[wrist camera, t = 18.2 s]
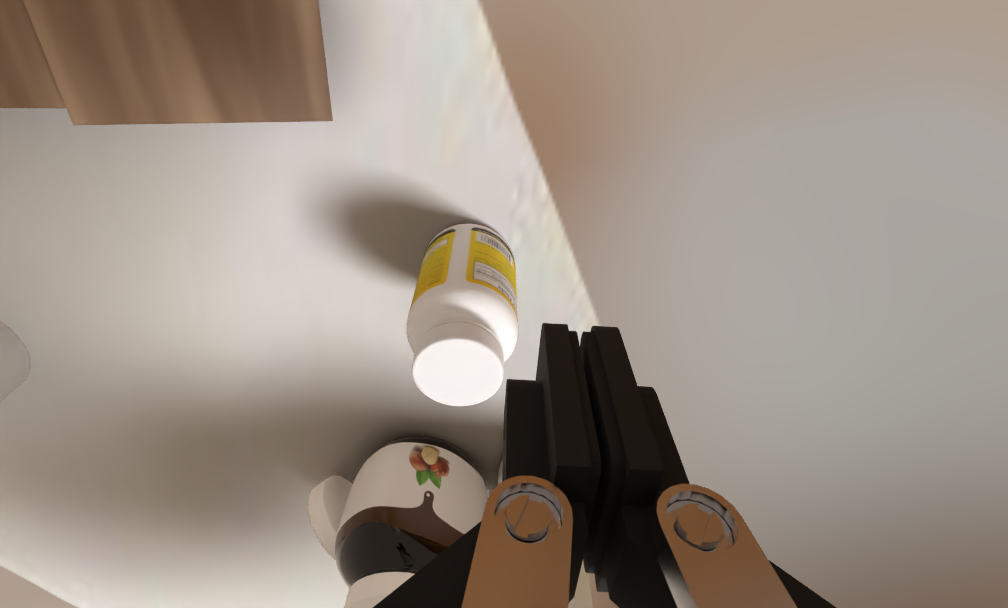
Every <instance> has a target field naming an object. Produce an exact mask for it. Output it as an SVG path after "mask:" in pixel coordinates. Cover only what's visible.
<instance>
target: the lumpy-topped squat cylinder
mask: <svg viewBox="0 0 1008 608" xmlns="http://www.w3.org/2000/svg"><path fill="white" fill-rule="evenodd" d="M29 367H30V356H29V352H28V350H27V348H26V346H25V345H24V343H23V342H22V340H21V339H20V338H19V337H18V336H17V335H16V334H15V333H14V332H13V331H12V330H11V329H10V328H9V327H7V326H6V325H5V324H3V323H2V322H1V321H0V401H1V400H2V399H3V398H4V397H6V396H7V395H8V394H9V393H10V392H12V391H13V390H14V389H15V388H16V387H17V386H19V385H20V384H21V383H22V382H23V381H24V380H25V378H26V377H27V375H28V372H29Z"/></svg>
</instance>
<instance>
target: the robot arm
mask: <svg viewBox="0 0 1008 608" xmlns="http://www.w3.org/2000/svg"><path fill="white" fill-rule="evenodd" d="M373 608H836V607H835V606H833V605H832V604H830V603H829V602H827V601H826V600H825V599H823V598H822V597H820V596H819V595H818V594H816V593H815V592H813V591H812V590H810V589H809V588H808V587H806V586H805V585H803V584H802V583H801V582H799V581H798V580H796V579H795V578H793V577H792V576H791V575H789V574H788V573H786V572H785V571H783V570H782V569H781V568H779V567H778V566H776V565H775V564H774V563H772V562H771V561H769V560H768V559H767V557H766V556H765V554H764V552H763V550H762V549H761V547H760V545H759V544H758V542H757V541H756V539H755V537H754V536H753V534H752V532H751V531H750V529H749V527H748V526H747V524H746V523H745V521H744V519H743V518H742V516H741V515H740V514H739V512H738V511H737V510H736V508H735V507H734V506H733V505H732V504H731V503H730V502H728V501H727V500H726V499H725V498H723V496H721V495H719V494H718V493H716V492H714V491H712V490H710V489H708V488H705V487H702V486H698V485H695V484H689V481H688V479H687V476H686V473H685V470H684V467H683V465H682V462H681V459H680V456H679V454H678V451H677V448H676V445H675V443H674V440H673V437H672V435H671V432H670V429H669V426H668V424H667V421H666V418H665V415H664V413H663V410H662V408H661V405H660V402H659V399H658V396H657V394H656V392H655V390H654V389H653V388H652V387H643V386H637V383H636V380H635V377H634V374H633V371H632V368H631V365H630V362H629V359H628V355H627V352H626V349H625V346H624V343H623V340H622V337H621V334H620V331H619V329H618V328H617V327H603V326H593V327H592V328H591V332H583V333H582V337H581V343H580V346H579V341H578V336H577V332H576V331H569V330H568V325H567V324H549V323H543V324H542V330H541V338H540V347H539V356H538V365H537V373H536V381H531V380H512V379H507V383H506V396H505V410H504V429H503V460H502V462H501V463H500V467H499V472H498V485H497V486H496V487H495V488H494V489H493V490H492V491H491V493H490V495H489V497H488V499H487V502H486V504H485V509H484V513H483V517H482V521H481V522H479V523H478V524H477V525H476V526H474V527H473V528H472V529H471V530H469V531H468V532H467V533H465V534H464V535H463V536H462V537H460V538H459V539H458V540H457V541H455V542H454V543H453V544H452V545H450V546H449V547H448V548H447V549H445V550H444V551H443V552H442V553H440V554H439V555H438V556H437V557H435V558H434V559H433V560H432V561H430V562H429V563H428V564H427V565H425V566H424V567H423V568H422V569H420V570H419V571H418V572H417V573H415V574H414V575H413V576H412V577H410V578H409V579H408V580H407V581H405V582H404V583H403V584H402V585H400V586H399V587H398V588H397V589H395V590H394V591H393V592H392V593H390V594H389V595H388V596H387V597H385V598H384V599H383V600H382V601H380V602H379V603H378V604H377V605H375V606H374V607H373Z"/></svg>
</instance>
